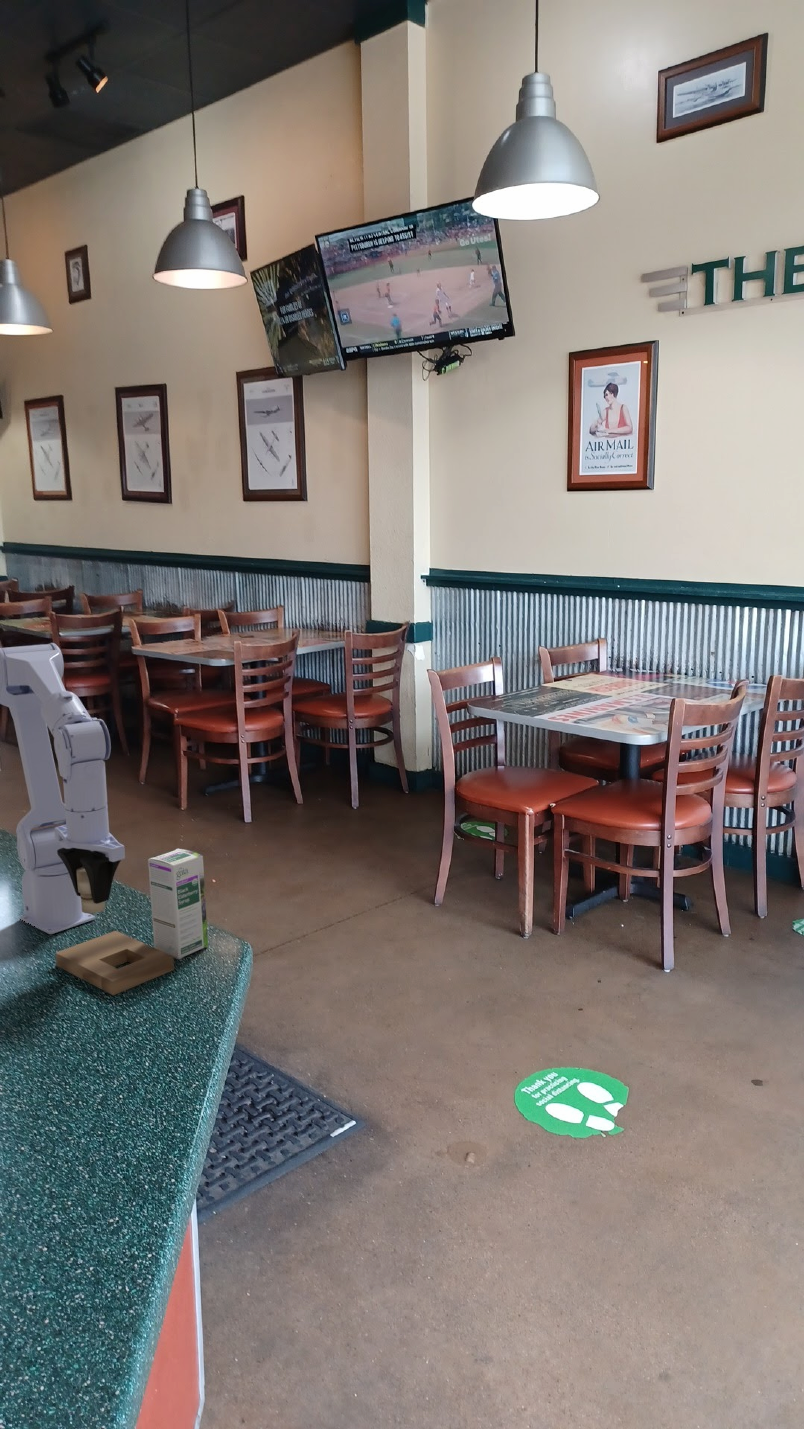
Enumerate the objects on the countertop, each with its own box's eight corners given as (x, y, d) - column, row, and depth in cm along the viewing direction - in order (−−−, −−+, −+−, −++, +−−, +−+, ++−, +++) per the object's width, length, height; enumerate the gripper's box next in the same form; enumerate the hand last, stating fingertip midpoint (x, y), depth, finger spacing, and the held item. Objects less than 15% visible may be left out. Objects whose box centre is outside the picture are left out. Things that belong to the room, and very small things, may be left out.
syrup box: (179, 960, 145) (174, 865, 142) (152, 950, 148) (147, 856, 146) (208, 947, 149) (204, 854, 147) (182, 937, 153) (177, 846, 150)
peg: (74, 910, 144) (71, 870, 143) (97, 902, 147) (94, 863, 146) (89, 916, 141) (86, 875, 140) (112, 908, 144) (109, 868, 143)
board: (56, 965, 143) (55, 952, 143) (116, 943, 151) (115, 930, 151) (113, 995, 135) (112, 981, 134) (174, 969, 142) (173, 956, 142)
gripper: (32, 803, 143) (39, 893, 145) (90, 823, 133) (97, 919, 136) (76, 792, 148) (83, 879, 151) (135, 811, 139) (140, 903, 141)
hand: (92, 897), depth 144 cm, fingers closed on peg, 4 cm apart
